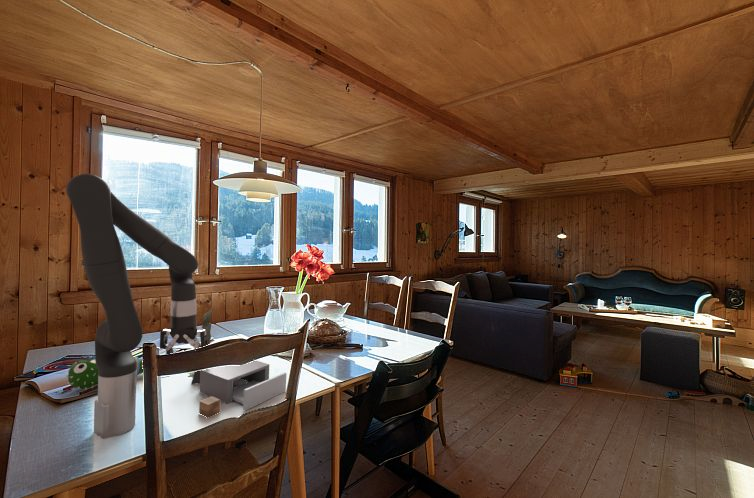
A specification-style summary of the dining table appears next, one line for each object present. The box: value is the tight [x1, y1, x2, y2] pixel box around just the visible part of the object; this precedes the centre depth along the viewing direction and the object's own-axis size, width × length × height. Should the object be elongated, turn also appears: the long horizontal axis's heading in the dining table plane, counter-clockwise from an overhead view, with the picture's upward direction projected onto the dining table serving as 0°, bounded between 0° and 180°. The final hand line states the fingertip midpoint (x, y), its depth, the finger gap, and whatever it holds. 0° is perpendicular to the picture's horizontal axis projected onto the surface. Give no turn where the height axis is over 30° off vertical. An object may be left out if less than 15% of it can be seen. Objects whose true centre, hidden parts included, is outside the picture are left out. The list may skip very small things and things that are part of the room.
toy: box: [65, 356, 143, 390], centre depth 136 cm, size 22×11×30 cm
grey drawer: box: [232, 372, 287, 412], centre depth 130 cm, size 16×19×7 cm
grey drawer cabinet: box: [199, 360, 270, 404], centre depth 135 cm, size 16×19×8 cm
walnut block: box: [198, 396, 221, 419], centre depth 116 cm, size 4×4×4 cm
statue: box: [190, 307, 214, 385], centre depth 141 cm, size 7×8×30 cm
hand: (184, 360), depth 116 cm, fingers open, 8 cm apart
